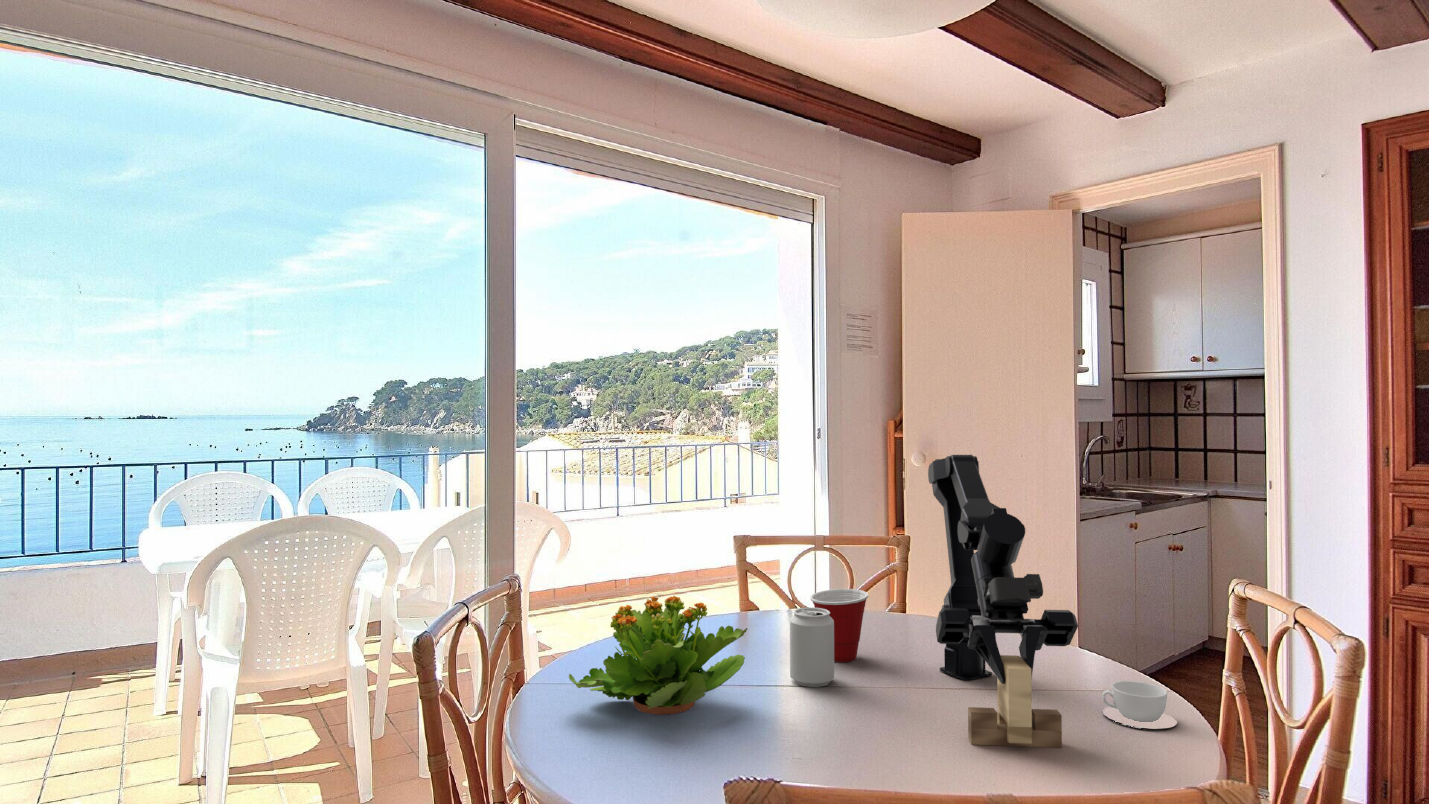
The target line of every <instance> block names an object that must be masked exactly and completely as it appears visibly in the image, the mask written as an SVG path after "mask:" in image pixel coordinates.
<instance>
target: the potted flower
mask: <svg viewBox="0 0 1429 804" xmlns="http://www.w3.org/2000/svg"><path fill="white" fill-rule="evenodd" d="M649 598H650V599H649ZM649 598H647V599H646V601H645V603H643V604H644V606H645V609H643V611H642V612H641V610H640V609H639V610H636V609H633V606H631V605H629V604H626V605H625V606H623V605H621V606H620V605H619V608H618V609H617V612H615V614H614V615H612V616H611V622H610V625H609V626H610V628H612V629H613V630H614V632H613V633H612V635H613V637H614V639H615V640H616V642H617V643H619V644H618V646H619V647H620V648H621V651H622V652H621V651H620V650H619V649H618V647H616V646H614V648H615V649H616V650H617V651H615V653H614V654H613V656H610V655H607V658H605V659H604V660H603V666H605V671H604V670H603V668H602V667H600V668H599V669H598V667H592V668H590V669H589V672H588V674H589V675H584V676H583V677H582V678H581V679H579V681H578V682H577V680H576V679H575V677H574V676H573V674H572V673H569V674H568V678H569V681H571V683H573V684H574V685H575V686H576V688H578V689H581V688H590V689H589V691H592V692H602V694H603V695H605V696H608V698H613V699H614V698H616V699H617V700H619V701H623V700H624V699H625V700H626V701H627V700H628V701H629V700H631V698H632V700H633V705H634V708H635V709H637V711H639V712H641V713H644V714H651V715H655V716H656V715H658V716H660V715H663V716H664V715H665V716H666V714H667V715H676V714H680V713H685V712H686V711H688V710H689V711H690V710H691V709H692V708H693V707H694V706H695V703H696V701H698V700H700V699H702V698H703V697H705V695H706V693H708V692H711V691H714V690H715V689H717V688H719V687H720V686H722V685H723V684H724V683H726V682H727V681H728V680H730V679H732V677H733V676H735V674H737V672H739V671H740V670H741V668H742V667H743V665H744V663H745V656H744V655H742V654H736V655H734V656H733V655H730V656H728V657H727V658H726V657H724V658H723V659H722V660H721V661H717V662H716V663H715V664H714V665H710V666H709V668H708V669H707V670H705V669H703V666H704V665H705V664H706V663H707V662H708V661H709V660H710V659H712V658H713V657H714V656H715V655H717V654H718V653H719V652H720V651H722V650H723V649H725V648H726V647H727V646H729V645H731V644H732V643H734V642H736V641H737V640H738V639H740V638H741V637H743V636H744V635H745V633H747V631H748V627H746V628H745V629H742V628H736V629H734V627H733V626H732V625H727V626H725V627H724V626H723V625H721V626H719V628H718V630H717V632H716V635H715V634H714V633H713V632H710V633H708V634H707V635H706V637H705V634H704V633H703V632H702V629H701V627H700V626H699V624H700V621H701V620H702V619H703V617H707V614H708V612H707V611H708V607H707V604H705V603H704V602H698V603H697V602H696V603H694V604H693V605H694V607H692V606H688V608H687V609H685V607H686V606H684V605H685V603H684V601H682V599H681V597H679V596H676V595H673V596H669V597H666V598H665V599H664V607H665V608H664V609H663V608H662V607H663V603H661V602H659V601H658V600H659V597H656V596H649ZM684 609H685V610H684ZM682 610H684V611H682ZM680 611H682V613H680ZM695 621H696V626H695V629H694V632H693V631H691V629H692V628H693V627H694V624H692V623H693V622H695ZM686 624H688V625H687V626H688V628H685V626H686ZM685 630H687V631H686V634H685V632H684V631H685ZM690 634H691V635H690ZM689 635H690V636H689Z"/></svg>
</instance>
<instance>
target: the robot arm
mask: <svg viewBox="0 0 1429 804" xmlns="http://www.w3.org/2000/svg"><path fill="white" fill-rule="evenodd" d="M979 463H980V462H979V460H978V457H977V456H975V455H973V454H950V455H947V456H946V457H945V458H940V459H939V458H936V459H935V460H933V461H932V462H931V463H930V464H929V465H928V469H927V477H928V478H927V479H928V483H929V484H931V488H932V494H933V497H935V499H936V500H937V502H938V503H939V504H940V505H941V506H942V508H943V516H944V525H945V534H946V535H945V537H946V546H947V555H948V566H949V574H950V586H949V588H948V590H947V591H946V595H945V597H944V598H943V604H942V606H941V608H940V610H939V612H938V616H937V621H936V625H935V634H936V642H937V643H939V644H942V645H945V646H944V648H943V649H944V652H943V653H944V654H943V655H944V656H943V657H944V666H941V667H940V668H939V672H942V673H945V674H947V675H950V676H952V677H955V678H957V679H959V680H963V681H972V680H976V679H980V678H986V677H991V676H993V674H994V675H995V676H996V679H997V678H998V679H999V680H1000V682H1001V683H1002V684H1005V682H1006V678H1005V671H1004V667H1003V663H1002V660H1001V656H1000V655H1001V653H1000V650H999V646H998V643H997V637H996V636H997V635H996V634H1018V635H1020V637H1021V640H1020V643H1019V646H1018V650H1019V656H1020V657H1021V658H1022V659H1023V661H1024V662H1025V663H1026V664H1027V665H1028V666H1029V667H1030V668H1031V681H1032V679H1033V670H1034V663H1035V655H1036V651H1040V650H1041V649H1042V648H1043V645H1045V646H1046V647H1066V646H1069V645H1071V644H1072V643H1071V642H1072V640H1073V639H1074V636H1075V634H1076V632H1077V629H1078V628H1079V625H1078V621H1077V617H1076V615H1075V614H1074V612H1072V611H1070V610H1069V609H1044V610H1043V613H1042V616H1041V618H1040V619H1034V618H1025V617H1024V615H1025V614H1028V611H1029V606H1028V603H1031V602H1032V600H1035V599H1036V600H1038V599H1040V598H1042V597H1043V595H1044V588H1043V581H1042V580H1041V579H1042V578H1041V575H1040V574H1039V573H1026V574H1025V575H1024V576H1023V577H1015V574H1014V571H1013V565H1012V564H1015V563H1016V561H1017V559H1018V556H1019V553H1020V550H1021V547H1022V544H1023V542H1024V539H1025V535H1026V527H1025V524H1023V523H1022V521H1021V520H1020V519H1019V518H1018V517H1015V515H1012V514H1009V513H1008V512H1007V508H1006V507H1000V506H997V505H996V504H994V503H992V502H991V501H990V499H989V496H988V494H987V491H986V488H985V485H984V483H983V479H982V477H981V474H980V464H979ZM986 664H987V665H988V666H989V668H990V669H991V671H990V670H987V669H986Z"/></svg>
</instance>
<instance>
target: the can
mask: <svg viewBox="0 0 1429 804" xmlns="http://www.w3.org/2000/svg"><path fill="white" fill-rule="evenodd" d="M792 612H793V615H792V616H791V618H790V619H789V676H790V678H791V679H792V680H793V681H794V683H796V684H797V685H800V686H803V687H809V688H819V687H825V686H827V685H829V684H830V682H832V681H833V680H834V679H835V661H834V620H833V619H832V618H831V617H830V616H829V614H830V611H828V610H826V609H822V608H815V607H800V608H796V609H794V610H793V611H792Z"/></svg>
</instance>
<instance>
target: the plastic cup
mask: <svg viewBox="0 0 1429 804" xmlns="http://www.w3.org/2000/svg"><path fill="white" fill-rule="evenodd" d="M809 596H810V598H809V599H810V601H811V602H812V604H813V606H814V607H813V608H822V609H826V610H828V611H830V614H829V616H830V617H831V618H832V619H833V620H834V662H838V663H847V662H853V661H855V660H857V656H858V650H859V643H860V640H861V632H862V626H863V618H864V614H865V613H864V612H865V608H866V602H867V599H868V598H869V593H868V592H867V591H864V590H861V589H856V588H833V589H826V590H820V591H818V592H813V593H812V594H811V595H809Z"/></svg>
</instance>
